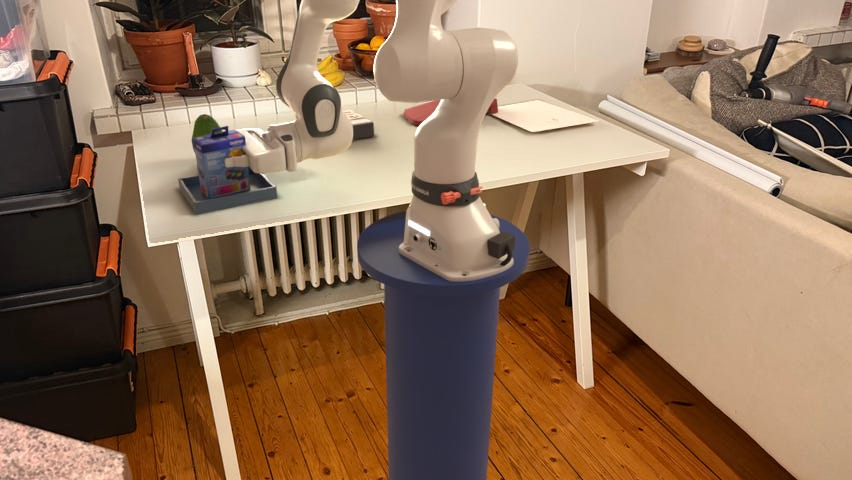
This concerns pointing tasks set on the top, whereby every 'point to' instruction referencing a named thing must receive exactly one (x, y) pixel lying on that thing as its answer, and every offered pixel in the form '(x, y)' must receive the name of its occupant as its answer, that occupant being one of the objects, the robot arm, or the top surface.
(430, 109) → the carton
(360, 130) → the dark grey package
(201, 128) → the avocado
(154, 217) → the top surface
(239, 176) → the ink cartridge box
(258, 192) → the tray
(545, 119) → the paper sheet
